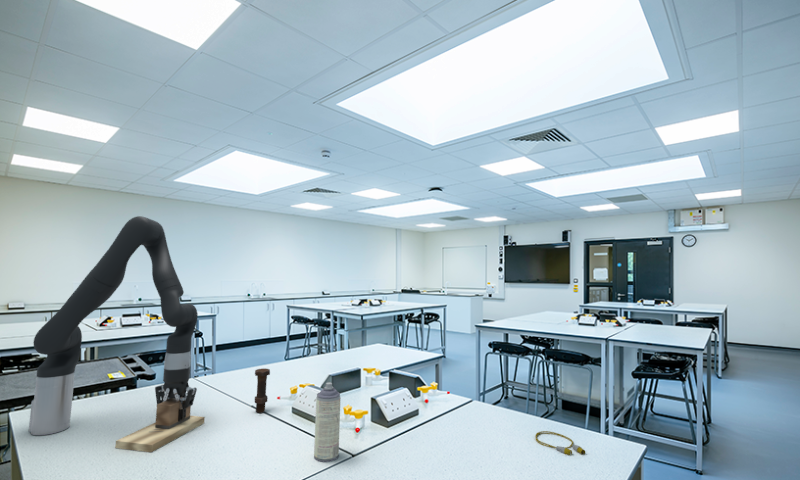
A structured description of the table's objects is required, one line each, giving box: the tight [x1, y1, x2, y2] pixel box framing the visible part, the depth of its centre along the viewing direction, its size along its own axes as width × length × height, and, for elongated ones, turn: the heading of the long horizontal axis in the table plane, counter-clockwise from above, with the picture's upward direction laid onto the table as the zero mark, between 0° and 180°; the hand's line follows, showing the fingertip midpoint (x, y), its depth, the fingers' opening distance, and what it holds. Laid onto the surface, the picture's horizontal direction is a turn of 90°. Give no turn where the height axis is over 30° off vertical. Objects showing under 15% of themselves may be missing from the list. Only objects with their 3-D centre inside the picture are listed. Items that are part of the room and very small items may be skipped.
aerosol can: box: [313, 382, 341, 463], centre depth 110 cm, size 7×7×20 cm
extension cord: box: [535, 430, 586, 456], centre depth 120 cm, size 12×16×2 cm
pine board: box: [115, 415, 206, 453], centre depth 121 cm, size 12×22×2 cm, turn 170°
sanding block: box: [154, 397, 192, 429], centre depth 125 cm, size 5×9×7 cm, turn 169°
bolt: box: [254, 367, 271, 414], centre depth 142 cm, size 6×5×15 cm
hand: (173, 419), depth 125 cm, fingers closed on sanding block, 5 cm apart
